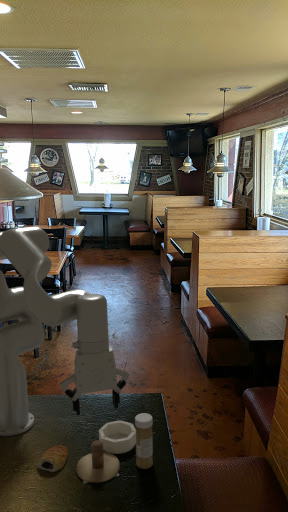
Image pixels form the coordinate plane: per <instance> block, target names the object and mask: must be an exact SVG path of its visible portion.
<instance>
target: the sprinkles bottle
mask: <svg viewBox="0 0 288 512" xmlns="http://www.w3.org/2000/svg"><path fill="white" fill-rule="evenodd" d="M134 426H135V429H136V444H135V455H136V456H135V457H136V459H135V460H136V461H135V464H136V467H138V468H139V469H142V470H143V469H144V470H145V469H150V468H152V466H153V464H154V461H153V453H154V451H153V445H154V444H153V416H152V415H151V414H149V413H145V412H142V413H139V414H136V416H135V417H134Z"/></svg>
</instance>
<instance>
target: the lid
mask: <svg viewBox="0 0 288 512" xmlns="http://www.w3.org/2000/svg"><path fill="white" fill-rule="evenodd" d="M78 461H79V462H77V465H76V474H77V476H78V477H79V478H80V479H81V480H82V481H83V480H84V481H87V482H88V483H94V484H98V483H104V482H108V481H109V480H111V479H113V478H115V477H116V476H115V475H116V474H117V473H119V470H120V460H119V459H118V457H117V456H116V455H114V454H113V453H108V452H106V451H104V450H103V442H102V441H99V439H98V440H94V441H92V442H91V453H88V454H86V455H84V456H83V457H81V458H80V460H78ZM114 476H115V477H114Z"/></svg>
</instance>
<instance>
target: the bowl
mask: <svg viewBox="0 0 288 512" xmlns="http://www.w3.org/2000/svg"><path fill="white" fill-rule="evenodd" d="M98 438H99V439H98V440H99V441H102V442H103V452H107V453H110V454H112V455H114V454H115V455H116V454H124V453H127V452H130V451H131V450H132V449H134V448H135V447H136V426H135V425H134V424H133V423H131V422H127V421H124V420H115V421H110V422H109V421H108V422H106V423H105V424H104V425H103V426H102V427H101V428H99V430H98Z"/></svg>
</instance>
